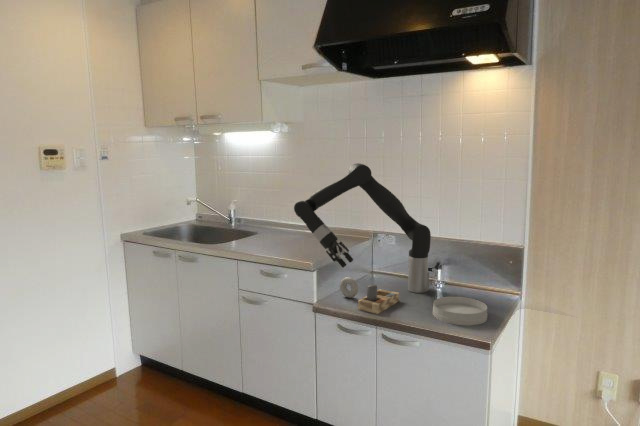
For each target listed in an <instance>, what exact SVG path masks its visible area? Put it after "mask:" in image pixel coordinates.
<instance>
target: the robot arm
mask: <svg viewBox="0 0 640 426" xmlns="http://www.w3.org/2000/svg"><path fill="white" fill-rule="evenodd" d="M357 187H360V189H362V190H363V191H364V192H365V193H366V194H367V195H368V196H369V197H370V199H371V200H372V202H373V203H375V205H376V206H377V207H378V208H379V209H380V210H381V211H382V212H383V213H384V214H385V215H386V216H387V217H388V218H389V219H391V220H392V221H393V222H394V223H396V225H398V226H399V227H400V228H401V230H402V231H403V232H404V234H405V235H406V237H408V239H409V240H411V242H412V243H411V249H409V250H408V276H407V277H408V278H407V280H408V281H407V290H408V291H409V292H411V293H415V294H422V293H426V292H428V291H430V271H428V268H429V264H428V263H429V253H430V250H431V236H432V235H431V234H432V233H431V230H430V228H429V227H428V226H427V225H425V224H422V223H420V222H419V221H417V220H415V219H414V218H413V217H412V216H411V215H410V214H409V213H408V211H407V210H406V207H405V206H404V205H403V203H402V201H401V200H400V199H399V198H398V197H397V196H396V195H395V194H393V192H391V191H390V190H389V189H388V188H386V187H385V186H384V185H383V184H381V183H379V181H377V180H376V179H375V178H374V177H373V176H372V170H371V169H370V167H369V166H368V165H366V164H364V163H354V164H351V165H350V167H349V169H348V174H346V175H345V176H344V177H342V178H341V179H339V180H337V181H334V182H332V183H330V184H328V185H325V186H323V187H322V188H320V189H319V190H317V191H314V193H312V194H311V195H310V197H309V198H307V199H306V200H298V201H297V202H295V204H294V206H293V210H294V213H295V215H296V216H297V217H299V219H301V220H302V222H304V223H305V226H306V228H307V229H308V230H309V231H310V232H311V233H312V235H313V236H314V238H315V239H316V240H317V241H318V243H319V244H320V245H321V246H322V247H323V248H324V250H326V251H325V252H326V254H327V255H328V256H329V258H330V259H331V260H332V261H333V262H337V263H338V264H339V265H340V266H341V268H345V267H346V266H347V263H346V262H345V260H343V258H341V255H342V256H344V257H345V259H346V260H347V261H348V263H352V262H353V261H354V258H353V257H352V255H350V253H349V252H350V249H349V248H348V247H347V246H346V245H345V244H344V242H342V241H340V242H338V238H339V237H337V236H336V234H335V233H334V232H333V231H332V230H331V229H330V227H329V226H327V225H326V224H325V222H324V221H323V220H322V219H321V218H320V217H319V216H318V215H317V214H316V210H318V209H319V208H321V207H323V206H324V205H326V204H328V203H329V202H331V201H333V200H334V199H337V197H339V196H341V195H343V194H345V193H346V192H348V191H350V190H352V189H355V188H357Z"/></svg>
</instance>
